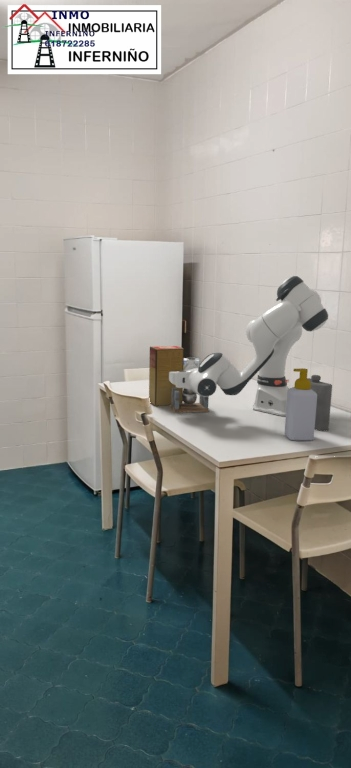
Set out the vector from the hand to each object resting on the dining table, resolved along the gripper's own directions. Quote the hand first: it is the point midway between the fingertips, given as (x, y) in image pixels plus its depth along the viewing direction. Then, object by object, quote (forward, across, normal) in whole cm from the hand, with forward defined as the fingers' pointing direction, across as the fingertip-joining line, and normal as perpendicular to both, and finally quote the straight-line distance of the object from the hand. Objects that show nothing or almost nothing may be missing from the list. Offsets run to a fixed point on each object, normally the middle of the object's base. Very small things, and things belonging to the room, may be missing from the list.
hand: (190, 373), depth 241 cm
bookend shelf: (-1, 0, +15) cm, 15 cm away
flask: (-30, -43, +16) cm, 55 cm away
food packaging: (+11, +8, +16) cm, 21 cm away
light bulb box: (+67, -15, +15) cm, 70 cm away
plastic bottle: (+2, 0, +13) cm, 13 cm away
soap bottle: (-45, -31, +16) cm, 57 cm away
